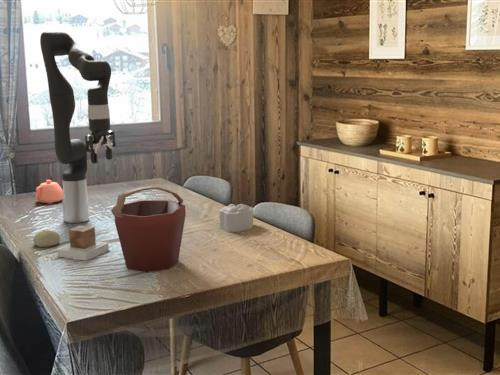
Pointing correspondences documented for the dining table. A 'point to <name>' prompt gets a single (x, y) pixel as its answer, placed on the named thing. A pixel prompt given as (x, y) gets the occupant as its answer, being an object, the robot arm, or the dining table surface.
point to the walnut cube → (82, 237)
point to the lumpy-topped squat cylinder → (236, 218)
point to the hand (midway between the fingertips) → (101, 161)
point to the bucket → (149, 231)
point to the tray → (83, 251)
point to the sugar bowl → (49, 192)
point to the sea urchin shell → (46, 238)
